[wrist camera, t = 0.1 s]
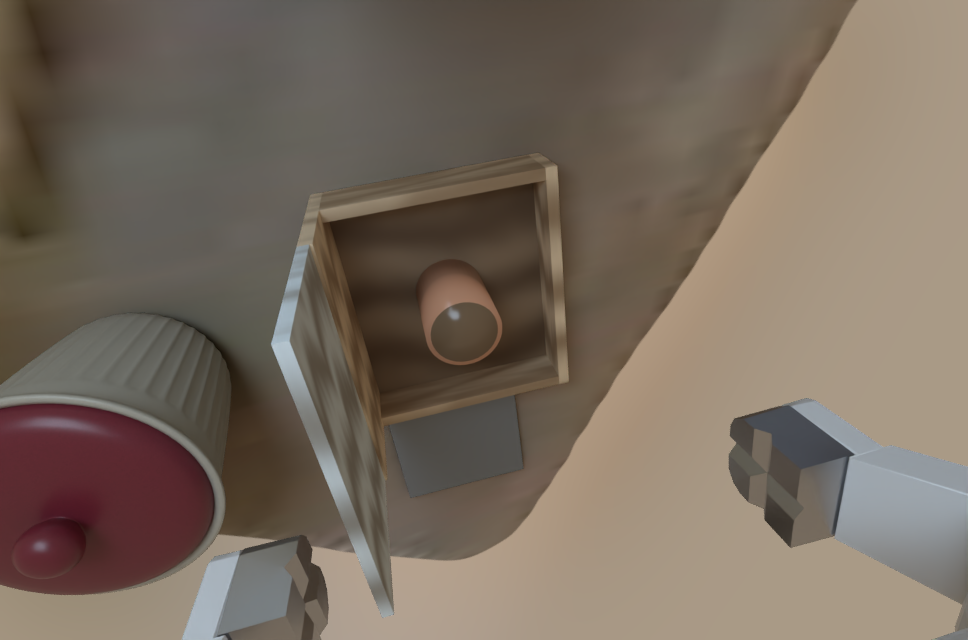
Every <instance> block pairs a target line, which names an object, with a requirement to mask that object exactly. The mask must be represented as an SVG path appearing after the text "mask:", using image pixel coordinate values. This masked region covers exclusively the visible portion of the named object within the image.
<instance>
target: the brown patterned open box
mask: <svg viewBox="0 0 968 640" xmlns="http://www.w3.org/2000/svg"><path fill="white" fill-rule="evenodd" d="M446 259H457V260H462V261H464V262H467V263H468V264H470V265H471V266H473V267H474V268H475V269H476V270H477V272H478V273H479V275H480V277H481V279H482V281H483V283H484V285H485V287H486V289H487V291H488V293H489V295H490V297H491V299H492V301H493V303H494V305H495V307H496V309H497V311H498V313H499V315H500V318H501V321H502V335H501V338H500V341H499V343H498V345H497V346H496V347H495V349H494V350H493V351H492V352H491V353H490V354H489V355H488V356H486V357H485V358H483V359H482V360H480V361H477V362H475V363H471V364H467V365H453V364H449V363H446V362H443V361H441V360H440V359H438V358H437V357H436V356H435V355H434V354H433V353H432V352H431V351H430V349H429V347H428V345H427V342H426V337H425V333H424V328H423V324H422V320H421V315H420V311H419V306H418V302H417V297H416V286H417V282H418V280H419V278H420V276H421V274H422V273H423V272H424V271H425V270H426V269H427V268H428V267H429V266H431V265H432V264H434V263H436V262H438V261H441V260H446ZM271 346H272V348H273V350H274V353H275V355H276V358H277V360H278V363H279V365H280V368H281V370H282V373H283V375H284V378H285V380H286V382H287V385H288V387H289V390H290V392H291V395H292V397H293V400H294V402H295V405H296V407H297V410H298V412H299V414H300V417H301V419H302V422H303V424H304V427H305V429H306V432H307V434H308V437H309V439H310V442H311V444H312V446H313V449H314V451H315V454H316V456H317V459H318V461H319V464H320V466H321V469H322V471H323V473H324V476H325V478H326V481H327V483H328V486H329V488H330V491H331V493H332V496H333V498H334V501H335V503H336V505H337V508H338V510H339V513H340V515H341V518H342V520H343V523H344V525H345V528H346V530H347V533H348V535H349V537H350V540H351V542H352V545H353V547H354V550H355V552H356V554H357V557H358V560H359V562H360V565H361V567H362V569H363V572H364V574H365V577H366V579H367V582H368V584H369V587H370V589H371V592H372V594H373V596H374V599H375V601H376V604H377V606H378V609H379V611H380V614H381V616H382V618H384V617H387V616H391V615H394V605H393V590H392V575H391V560H390V545H389V530H388V515H387V500H386V484H385V480H388V479H387V465H386V451H385V437H384V426H387V425H391V424H395V423H399V422H404V421H408V420H412V419H416V418H420V417H424V416H429V415H433V414H437V413H441V412H445V411H449V410H453V409H458V408H462V407H466V406H470V405H474V404H478V403H483V402H487V401H491V400H495V399H499V398H503V397H508V396H512V395H516V394H520V393H524V392H528V391H532V390H537V389H541V388H545V387H549V386H553V385H557V384H562V383H566V382H569V377H568V358H567V339H566V320H565V301H564V282H563V263H562V244H561V225H560V206H559V187H558V168H557V165H556V164H554V163H553V162H551V161H550V160H549V159H547V158H546V157H544V156H543V155H541V154H540V153H533V154H528V155H522V156H517V157H512V158H506V159H501V160H495V161H490V162H485V163H479V164H474V165H468V166H463V167H457V168H452V169H447V170H441V171H436V172H430V173H425V174H419V175H414V176H409V177H403V178H398V179H392V180H387V181H382V182H376V183H371V184H365V185H360V186H354V187H349V188H344V189H338V190H333V191H327V192H322V193H316V194H311V195H310V197H309V201H308V205H307V209H306V213H305V217H304V220H303V224H302V228H301V232H300V236H299V240H298V243H297V247H296V251H295V255H294V259H293V263H292V266H291V270H290V274H289V278H288V282H287V286H286V289H285V293H284V297H283V301H282V305H281V309H280V312H279V316H278V320H277V324H276V328H275V332H274V336H273V339H272V343H271Z"/></svg>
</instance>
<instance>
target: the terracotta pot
mask: <svg viewBox="0 0 968 640" xmlns="http://www.w3.org/2000/svg"><path fill="white" fill-rule="evenodd" d="M416 297H417V302H418V306H419V311H420V315H421V320H422V324H423V328H424V333H425V337H426V342H427V345H428V347H429V349H430V351H431V352H432V353H433V354H434V355H435V356H436V357H437V358H438V359H440V360H441V361H443V362H446V363H449V364H453V365H467V364H471V363H475V362H477V361H480V360H482V359H483V358H485V357H486V356H488V355H489V354H490V353H491V352H492V351H493V350H494V349H495V347H496V346H497V345H498V343H499V341H500V338H501V335H502V321H501V318H500V315H499V313H498V311H497V309H496V307H495V305H494V303H493V301H492V299H491V297H490V295H489V293H488V291H487V289H486V287H485V285H484V283H483V281H482V279H481V277H480V275H479V273H478V272H477V270H476V269H475V268H474V267H473V266H471V265H470V264H468V263H467V262H464V261H462V260H457V259H446V260H441V261H438V262H436V263H434V264H432V265H431V266H429V267H428V268H427V269H426V270H425V271H424V272H423V273H422V274H421V276H420V278H419V280H418V282H417V286H416Z"/></svg>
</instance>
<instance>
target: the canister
mask: <svg viewBox="0 0 968 640" xmlns="http://www.w3.org/2000/svg"><path fill="white" fill-rule="evenodd" d="M231 388H232V387H231V381H230V373H229V370H228V369H227V364H226V362H225V360H224V359H223V358H222V356H221V353H220V351H219V350H217V349H216V347H215V346H214V344H213V343H212V342H211V341H209V340H208V339H207V338H206V337H205V335H204V334H201V333H199V332H198V331H197V330H196V329H195V328H193V327H189V326H188V325H186V324H185V323H184V322H179V321H176V320H174V319H173V318H170V317H169V318H167V317H163V316H161V315H158V314H156V315H152V314H147V313H140V314H136V313H126V314H115V315H112V316H110V317H104V318H100V319H97V320H95V321H94V322H92V323H88V324H86V325H84V326H82V327H80V328H79V329H77V330H76V331H74V332H73V333H71V334H69V335H68V336H66V337H65V338H63V339H62V340H60V341H59V342H58V343H56V344H55V345H53V346H52V347H51V348H49V349H48V350H46V351H45V352H43V353H42V354H41V355H39V356H38V357H37V358H35V359H34V360H33V361H31V362H30V363H29V364H27V365H26V366H25V367H23V368H22V369H21V370H19V371H18V372H17V373H16V374H14V375H13V376H12V377H10V378H9V379H8V380H6V381H5V382H4V383H3V384H1V385H0V585H4V586H7V587H11V588H15V589H20V590H24V591H30V592H37V593H44V594H57V595H85V594H101V593H110V592H117V591H123V590H128V589H132V588H137V587H140V586H144V585H147V584H150V583H153V582H156V581H158V580H161V579H163V578H166V577H168V576H170V575H172V574H174V573H176V572H178V571H180V570H181V569H183V568H185V567H186V566H188V565H189V564H190V563H192V562H193V561H195V560H196V559H197V558H198V557H199V556H200V555H202V554H203V553H204V552H205V551H206V550H207V549H208V547H209V546H210V545H211V544H212V543H213V541H214V540H215V538H216V536H217V535H218V533H219V531H220V529H221V526H222V523H223V520H224V516H225V511H226V495H225V490H224V486H223V483H222V480H221V478H222V471H223V463H224V455H225V448H226V441H227V433H228V425H229V414H230V403H231Z"/></svg>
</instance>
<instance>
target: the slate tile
mask: <svg viewBox="0 0 968 640" xmlns="http://www.w3.org/2000/svg"><path fill="white" fill-rule="evenodd" d="M389 427H390V430H391V434H392V437H393V441H394V444H395V447H396V451H397V454H398V458H399V461H400V464H401V468H402V471H403V475H404V478H405V481H406V485H407V488H408V492H409V495H410V498H412V497H416V496H420V495H424V494H428V493H432V492H436V491H440V490H443V489H447V488H451V487H455V486H459V485H463V484H467V483H471V482H474V481H478V480H482V479H486V478H490V477H494V476H498V475H501V474H505V473H509V472H513V471H517V470H521V469H523V461H522V452H521V444H520V436H519V428H518V420H517V412H516V404H515V395H512V396H508V397H503V398H499V399H495V400H491V401H487V402H483V403H478V404H474V405H470V406H466V407H462V408H458V409H453V410H449V411H445V412H441V413H437V414H433V415H429V416H424V417H420V418H416V419H412V420H408V421H404V422H399V423H395V424H391V425H389Z"/></svg>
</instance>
